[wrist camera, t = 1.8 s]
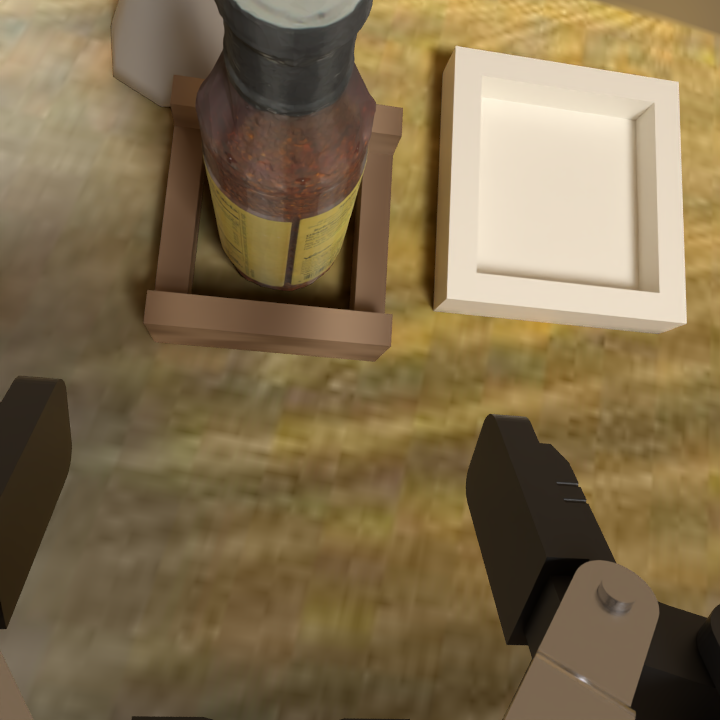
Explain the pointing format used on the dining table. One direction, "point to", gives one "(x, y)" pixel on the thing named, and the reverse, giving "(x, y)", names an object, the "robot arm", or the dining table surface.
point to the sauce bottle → (285, 135)
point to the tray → (559, 194)
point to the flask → (164, 43)
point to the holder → (266, 319)
